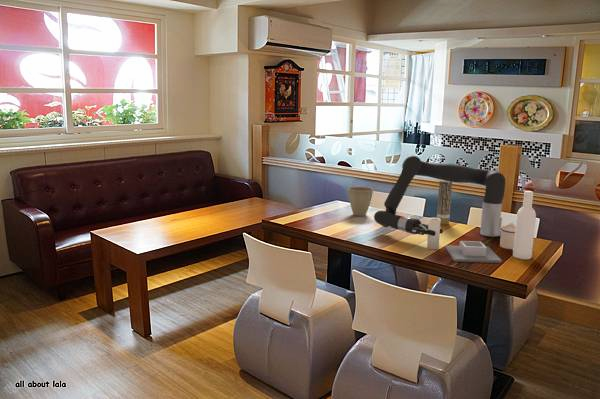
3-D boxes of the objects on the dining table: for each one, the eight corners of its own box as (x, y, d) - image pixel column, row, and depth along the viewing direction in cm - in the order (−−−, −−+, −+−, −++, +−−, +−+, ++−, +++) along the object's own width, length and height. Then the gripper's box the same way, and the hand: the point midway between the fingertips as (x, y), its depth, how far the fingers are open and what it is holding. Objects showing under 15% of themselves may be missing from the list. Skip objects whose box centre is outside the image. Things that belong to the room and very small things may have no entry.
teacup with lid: (516, 251, 233) (519, 226, 231) (496, 247, 238) (499, 223, 236) (523, 245, 243) (525, 221, 240) (503, 241, 248) (505, 218, 245)
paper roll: (437, 246, 239) (439, 217, 236) (439, 249, 234) (441, 220, 231) (426, 245, 239) (427, 217, 236) (428, 249, 234) (429, 219, 231)
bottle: (526, 253, 229) (533, 189, 223) (534, 259, 221) (542, 193, 215) (509, 253, 229) (515, 189, 222) (517, 259, 221) (524, 193, 215)
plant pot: (373, 217, 293) (374, 191, 290) (348, 217, 293) (349, 191, 290) (370, 212, 308) (371, 186, 304) (346, 211, 308) (347, 186, 304)
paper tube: (449, 225, 277) (452, 181, 272) (436, 224, 279) (439, 180, 274) (448, 222, 284) (451, 179, 279) (436, 221, 285) (439, 178, 280)
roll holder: (488, 249, 236) (489, 238, 234) (501, 263, 216) (502, 251, 215) (445, 247, 237) (445, 237, 236) (454, 261, 218) (455, 250, 216)
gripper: (400, 220, 240) (430, 227, 227) (418, 215, 249) (448, 222, 237) (399, 235, 242) (429, 243, 229) (417, 230, 251) (447, 237, 238)
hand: (438, 232), depth 233 cm, fingers closed on paper roll, 5 cm apart
